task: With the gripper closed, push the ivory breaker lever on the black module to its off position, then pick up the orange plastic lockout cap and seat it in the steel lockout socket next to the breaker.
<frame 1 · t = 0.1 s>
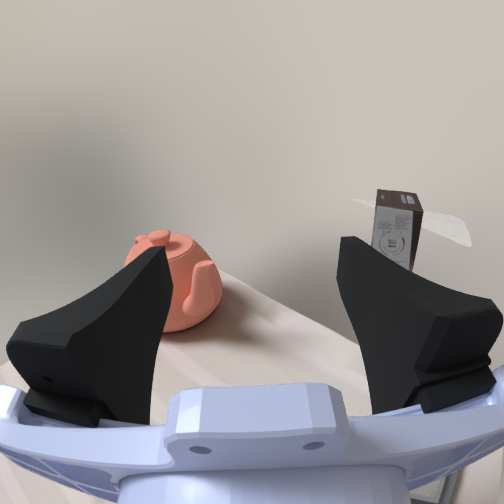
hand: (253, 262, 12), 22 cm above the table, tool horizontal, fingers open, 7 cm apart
lockout socket: (405, 474, 20), resting on breaker panel
coffee box: (383, 297, 45), on the table
teapot: (177, 311, 46), on the table
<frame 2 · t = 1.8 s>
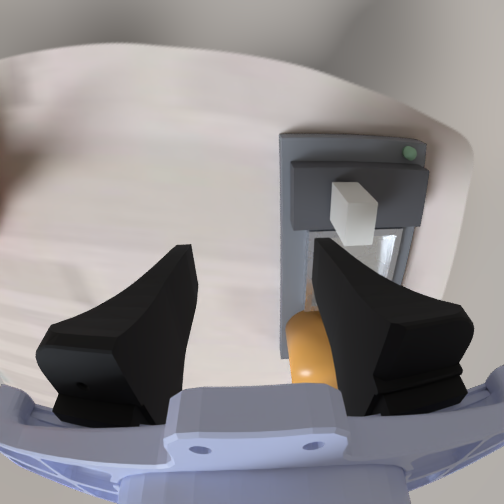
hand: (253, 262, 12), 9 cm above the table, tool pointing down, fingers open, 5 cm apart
breaker lever: (351, 212, 16), point 5 cm above the table, slide at 0.0 cm
breaker panel: (336, 305, 26), on the table
lockout socket: (343, 254, 23), resting on breaker panel
lockout cap: (311, 327, 25), point 1 cm above the table, touching breaker panel
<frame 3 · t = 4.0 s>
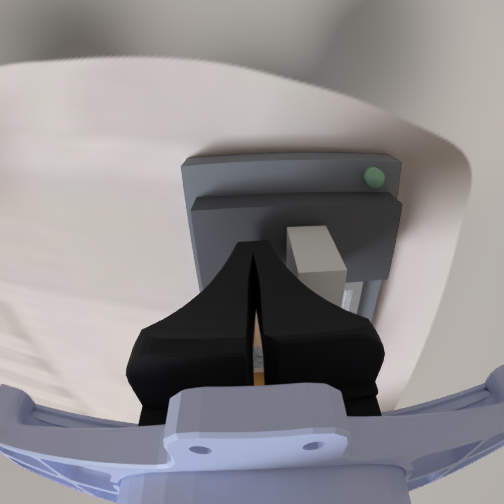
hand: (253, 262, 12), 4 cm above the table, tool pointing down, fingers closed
breaker lever: (312, 273, 12), point 5 cm above the table, slide at 1.6 cm, touching gripper
breaker panel: (287, 358, 21), on the table
lockout socket: (289, 305, 19), resting on breaker panel
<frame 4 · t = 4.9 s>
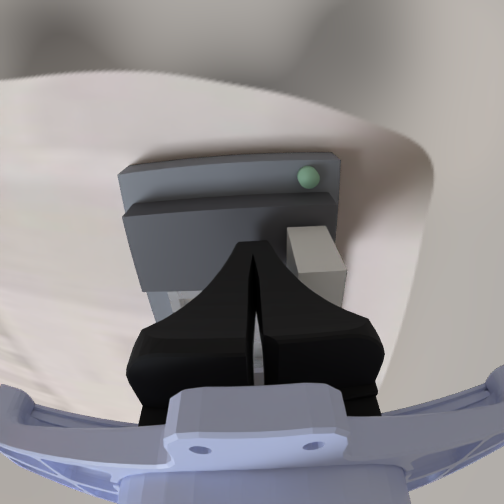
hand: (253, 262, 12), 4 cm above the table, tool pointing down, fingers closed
breaker lever: (312, 273, 12), point 5 cm above the table, slide at 4.7 cm, touching gripper
breaker panel: (245, 360, 21), on the table
lockout socket: (240, 307, 19), resting on breaker panel
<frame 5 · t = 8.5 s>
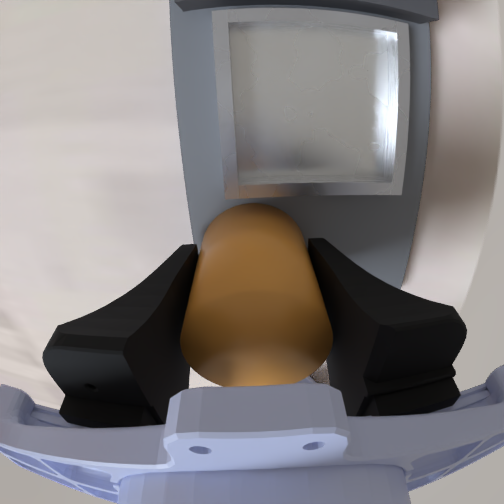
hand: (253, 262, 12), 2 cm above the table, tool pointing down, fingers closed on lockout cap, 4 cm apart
breaker panel: (306, 212, 14), on the table
lockout socket: (306, 98, 11), resting on breaker panel
lockout cap: (253, 251, 13), point 2 cm above the table, touching breaker panel, gripper
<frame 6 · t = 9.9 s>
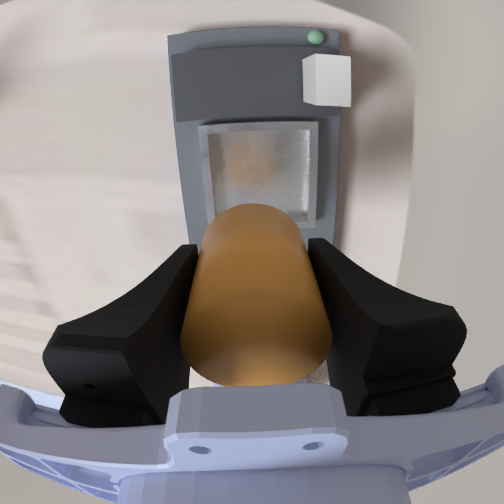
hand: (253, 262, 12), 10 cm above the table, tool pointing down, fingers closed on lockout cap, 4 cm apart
breaker lever: (325, 80, 13), point 5 cm above the table, slide at 4.7 cm
breaker panel: (261, 237, 23), on the table
lockout socket: (258, 167, 20), resting on breaker panel
lockout cap: (252, 251, 13), point 9 cm above the table, touching gripper
when the fingers open (4 cm above the table, at t = 11.5 s): lockout cap drops 1 cm, resting on lockout socket.
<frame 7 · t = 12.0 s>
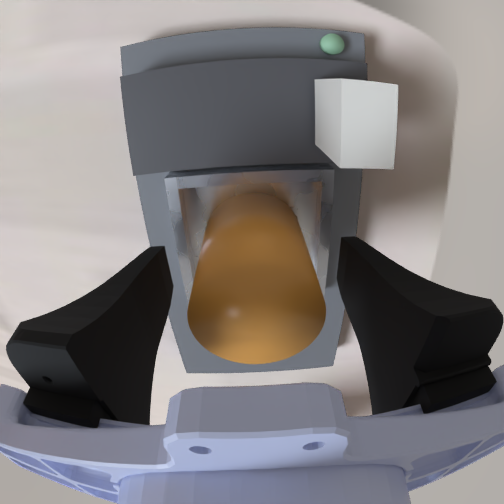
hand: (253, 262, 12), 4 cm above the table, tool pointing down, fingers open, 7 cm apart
breaker lever: (351, 117, 8), point 5 cm above the table, slide at 4.7 cm
breaker panel: (256, 301, 18), on the table
lockout socket: (252, 222, 16), resting on breaker panel
lockout cap: (253, 237, 14), point 2 cm above the table, touching lockout socket
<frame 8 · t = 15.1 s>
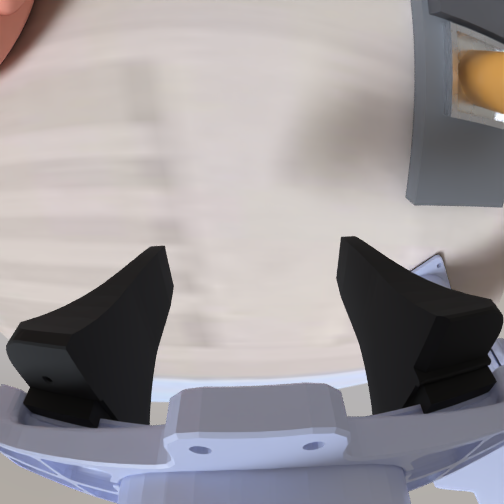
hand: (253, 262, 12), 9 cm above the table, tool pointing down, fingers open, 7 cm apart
breaker panel: (463, 140, 18), on the table
lockout socket: (466, 76, 16), resting on breaker panel
lockout cap: (480, 78, 14), point 2 cm above the table, touching lockout socket
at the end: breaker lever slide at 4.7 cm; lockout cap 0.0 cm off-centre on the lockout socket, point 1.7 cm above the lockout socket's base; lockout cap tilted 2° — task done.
